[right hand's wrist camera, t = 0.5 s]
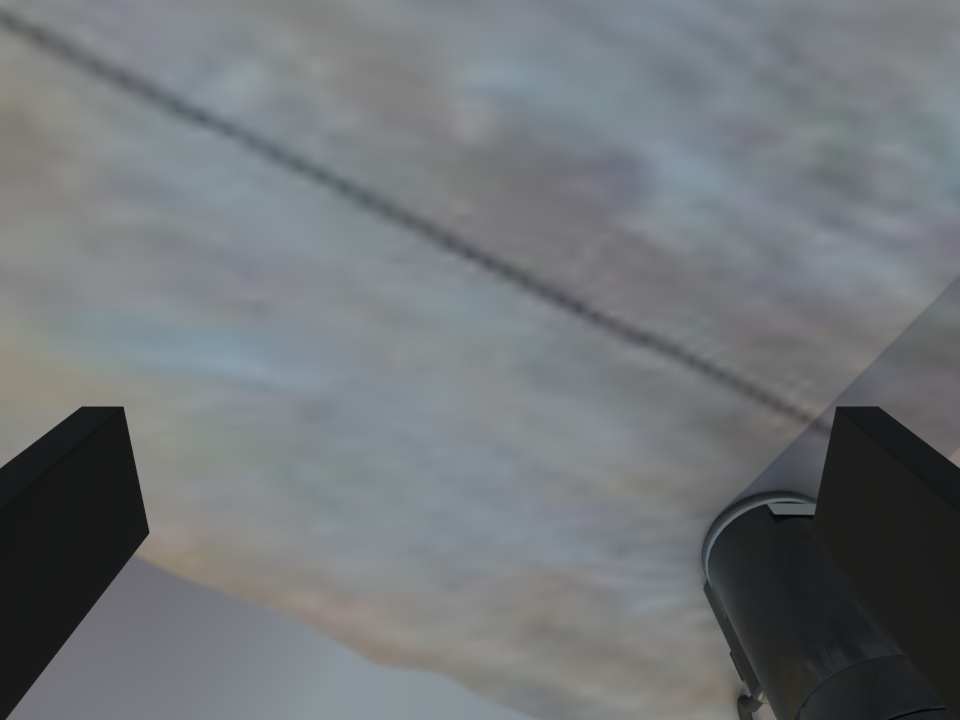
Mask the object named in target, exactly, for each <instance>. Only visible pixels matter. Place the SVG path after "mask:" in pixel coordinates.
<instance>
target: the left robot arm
mask: <svg viewBox="0 0 960 720" xmlns="http://www.w3.org/2000/svg"><path fill="white" fill-rule="evenodd" d="M816 504H817V501H815V500H813V499H811V498H809V497H807V496H804V495H801V494H796V493H790V492H772V493H765V494H761V495H757V496H754V497H751V498H748V499H746V500H744V501H742V502H740V503H738V504H736V505H735V506H733V507H732V508H730V509H729V510H727V511H726V512H725V513H724V514H723V515H722V516H721V517H720V518H719V519H718V520H717V521H716V522H715V523H714V525H713V526H712V528H711V529H710V531H709V533H708V534H707V537H706V539H705V542H704V545H703V550H702V565H703V569H704V572H705V575H706V577H707V583H706V585H705V587H704V589H703V590H704V593H705V595H706V597H707V599H708V601H709V603H710V606H711V608H712V610H713V612H714V614H715V617H716V619H717V621H718V623H719V625H720V627H721V630H722V632H723V634H724V636H725V638H726V640H727V643H728V645H729V647H730V649H731V652H730V656H731V658H732V660H733V662H734V665H735V667H736V669H737V671H738V673H739V676H740V678H741V680H742V682H743V683H746V684H747V686H748V688H749V690H750V693H751V696H750V697H747V696H746V695H743V696H740V697H739V699H738V712H739V716H740V720H753V719H752V715H751V712H755V711H757V710H758V709H759V708H760V707H761V705H762V704H763V703H765V704H769V705H770V706H771V708H772V710H773V712H774V715H775V717H776V719H777V720H954V718H953V717H952V716H951V715H950V713H949V712H948V711H947V709H946V708H945V707H944V705H943V704H942V703H941V702H940V700H939V699H938V698H937V696H936V695H935V694H934V692H933V691H932V690H931V689H930V687H929V686H928V685H927V683H926V682H925V681H924V680H923V678H922V677H921V676H920V674H919V673H918V672H917V670H916V669H915V668H914V667H913V665H912V664H911V663H910V661H909V660H908V659H907V657H906V656H905V655H904V654H903V652H902V651H901V650H900V648H899V647H898V646H897V645H896V643H895V642H894V641H893V639H892V638H891V637H890V635H889V634H888V633H887V632H886V630H885V629H884V628H883V626H882V625H881V624H880V622H879V621H878V620H877V619H876V617H875V616H874V615H873V613H872V612H871V611H870V610H869V608H868V607H867V606H866V604H865V603H864V602H863V600H862V599H861V598H860V597H859V595H858V594H857V593H856V591H855V590H854V589H853V587H852V586H851V585H850V584H849V582H848V581H847V580H846V578H845V577H844V576H843V575H842V573H841V572H840V571H839V569H838V568H837V567H836V565H835V564H834V563H833V562H832V560H831V559H830V558H829V556H828V555H827V554H826V552H825V551H824V550H823V549H822V547H821V546H820V545H819V543H818V542H817V541H816V539H815V538H814V537H813V536H812V534H811V528H812V523H813V518H814V513H815V509H816Z"/></svg>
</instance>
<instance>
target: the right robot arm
mask: <svg viewBox="0 0 960 720" xmlns="http://www.w3.org/2000/svg"><path fill="white" fill-rule="evenodd" d="M148 534H149V528H148V523H147V518H146V513H145V509H144V504H143V499H142V494H141V489H140V484H139V480H138V475H137V470H136V465H135V460H134V455H133V450H132V446H131V441H130V436H129V431H128V426H127V421H126V417H125V412H124V407H81V408H79V409H78V410H77V411H75V412H74V413H73V414H71V415H70V416H69V417H67V418H66V419H65V420H63V421H62V422H61V423H60V424H58V425H57V426H56V427H54V428H53V429H52V430H50V431H49V432H48V433H46V434H45V435H44V436H42V437H41V438H40V439H38V440H37V441H36V442H34V443H33V444H32V445H31V446H29V447H28V448H27V449H25V450H24V451H23V452H21V453H20V454H19V455H17V456H16V457H15V458H13V459H12V460H11V461H9V462H8V463H7V464H5V465H4V466H3V467H2V468H0V720H6V718H7V717H8V716H9V715H10V713H11V712H12V711H13V709H14V708H15V707H16V705H17V704H18V703H19V702H20V700H21V699H22V698H23V696H24V695H25V694H26V692H27V691H28V690H29V689H30V687H31V686H32V685H33V683H34V682H35V681H36V680H37V678H38V677H39V676H40V674H41V673H42V672H43V670H44V669H45V668H46V667H47V665H48V664H49V663H50V661H51V660H52V659H53V657H54V656H55V655H56V654H57V652H58V651H59V650H60V648H61V647H62V646H63V645H64V643H65V642H66V641H67V639H68V638H69V637H70V635H71V634H72V633H73V632H74V630H75V629H76V628H77V626H78V625H79V624H80V622H81V621H82V620H83V619H84V617H85V616H86V615H87V613H88V612H89V611H90V610H91V608H92V607H93V606H94V604H95V603H96V602H97V600H98V599H99V598H100V597H101V595H102V594H103V593H104V591H105V590H106V589H107V587H108V586H109V585H110V584H111V582H112V581H113V580H114V578H115V577H116V576H117V574H118V573H119V572H120V571H121V569H122V568H123V567H124V565H125V564H126V563H127V561H128V560H129V559H130V558H131V556H132V555H133V554H134V552H135V551H136V550H137V549H138V547H139V546H140V545H141V543H142V542H143V541H144V539H145V538H146V537H147V536H148ZM811 534H812V536H813V537H814V538H815V539H816V541H817V542H818V543H819V545H820V546H821V547H822V549H823V550H824V551H825V552H826V554H827V555H828V556H829V558H830V559H831V560H832V562H833V563H834V564H835V565H836V567H837V568H838V569H839V571H840V572H841V573H842V575H843V576H844V577H845V578H846V580H847V581H848V582H849V584H850V585H851V586H852V587H853V589H854V590H855V591H856V593H857V594H858V595H859V597H860V598H861V599H862V600H863V602H864V603H865V604H866V606H867V607H868V608H869V610H870V611H871V612H872V613H873V615H874V616H875V617H876V619H877V620H878V621H879V622H880V624H881V625H882V626H883V628H884V629H885V630H886V632H887V633H888V634H889V635H890V637H891V638H892V639H893V641H894V642H895V643H896V645H897V646H898V647H899V648H900V650H901V651H902V652H903V654H904V655H905V656H906V657H907V659H908V660H909V661H910V663H911V664H912V665H913V667H914V668H915V669H916V670H917V672H918V673H919V674H920V676H921V677H922V678H923V680H924V681H925V682H926V683H927V685H928V686H929V687H930V689H931V690H932V691H933V692H934V694H935V695H936V696H937V698H938V699H939V700H940V702H941V703H942V704H943V705H944V707H945V708H946V709H947V711H948V712H949V713H950V715H951V716H952V717H953V718H954V720H960V468H958V467H957V466H956V465H955V464H953V463H952V462H951V461H949V460H948V459H947V458H945V457H944V456H943V455H941V454H940V453H939V452H937V451H936V450H935V449H933V448H932V447H931V446H929V445H928V444H927V443H926V442H924V441H923V440H922V439H920V438H919V437H918V436H916V435H915V434H914V433H912V432H911V431H910V430H908V429H907V428H906V427H904V426H903V425H902V424H900V423H899V422H898V421H897V420H895V419H894V418H893V417H891V416H890V415H889V414H887V413H886V412H885V411H883V410H882V409H881V408H879V407H836V412H835V417H834V421H833V426H832V431H831V436H830V441H829V446H828V450H827V455H826V460H825V465H824V470H823V475H822V480H821V484H820V489H819V494H818V499H817V504H816V509H815V513H814V518H813V523H812V528H811Z"/></svg>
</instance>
